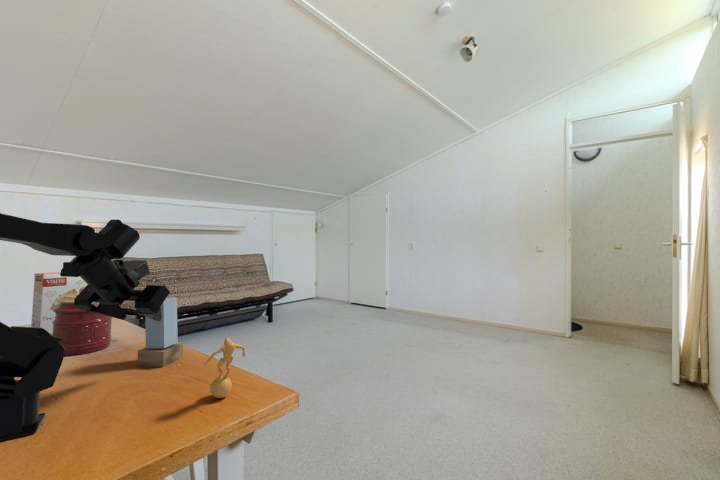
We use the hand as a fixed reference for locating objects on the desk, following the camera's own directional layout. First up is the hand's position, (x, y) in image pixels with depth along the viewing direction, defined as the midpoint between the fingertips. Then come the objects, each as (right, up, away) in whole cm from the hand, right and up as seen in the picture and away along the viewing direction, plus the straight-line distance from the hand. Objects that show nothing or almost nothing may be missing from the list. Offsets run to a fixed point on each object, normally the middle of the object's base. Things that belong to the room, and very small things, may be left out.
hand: (142, 318), depth 76 cm
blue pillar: (0, -9, +7) cm, 11 cm away
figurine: (+25, -13, -13) cm, 31 cm away
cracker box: (-41, -13, +24) cm, 49 cm away
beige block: (0, -13, +6) cm, 14 cm away
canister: (-27, -12, +15) cm, 34 cm away
